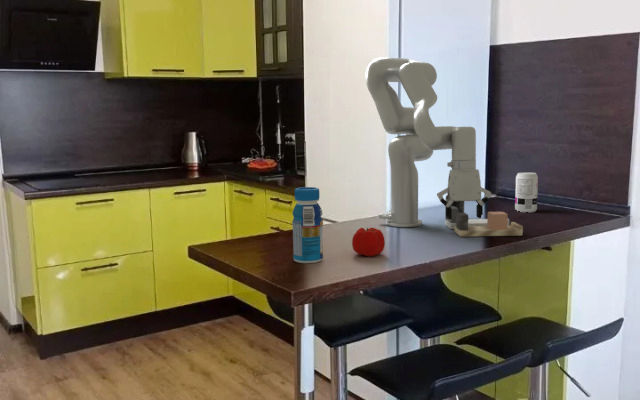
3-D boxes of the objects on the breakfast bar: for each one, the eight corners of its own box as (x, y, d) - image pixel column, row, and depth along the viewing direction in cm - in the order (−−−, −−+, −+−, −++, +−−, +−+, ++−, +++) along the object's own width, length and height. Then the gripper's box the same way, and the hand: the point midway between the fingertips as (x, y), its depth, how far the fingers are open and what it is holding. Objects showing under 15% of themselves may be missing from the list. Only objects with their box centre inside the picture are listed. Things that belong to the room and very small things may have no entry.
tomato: (375, 250, 184) (375, 225, 183) (389, 256, 176) (389, 230, 175) (346, 253, 181) (346, 227, 180) (359, 260, 173) (359, 233, 172)
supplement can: (510, 210, 250) (511, 172, 248) (528, 208, 253) (529, 171, 251) (523, 213, 243) (524, 174, 240) (541, 211, 245) (542, 173, 243)
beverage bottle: (286, 261, 172) (285, 189, 169) (304, 255, 179) (303, 185, 176) (312, 265, 167) (310, 191, 164) (329, 258, 174) (328, 187, 171)
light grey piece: (450, 228, 213) (451, 209, 212) (445, 224, 221) (445, 205, 220) (509, 227, 214) (509, 208, 213) (501, 223, 221) (502, 204, 220)
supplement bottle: (460, 217, 236) (461, 185, 234) (466, 220, 229) (467, 188, 227) (442, 218, 235) (443, 186, 233) (448, 221, 228) (449, 188, 226)
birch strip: (460, 236, 200) (460, 215, 199) (454, 231, 208) (454, 211, 207) (522, 235, 201) (523, 214, 200) (514, 230, 209) (514, 210, 208)
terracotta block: (491, 229, 202) (492, 214, 201) (487, 226, 207) (487, 211, 206) (507, 229, 202) (507, 214, 201) (502, 226, 207) (502, 211, 206)
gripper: (439, 167, 197) (440, 221, 199) (494, 165, 197) (494, 219, 199) (434, 165, 204) (435, 217, 206) (487, 163, 205) (487, 215, 207)
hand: (464, 218), depth 203 cm, fingers open, 9 cm apart
